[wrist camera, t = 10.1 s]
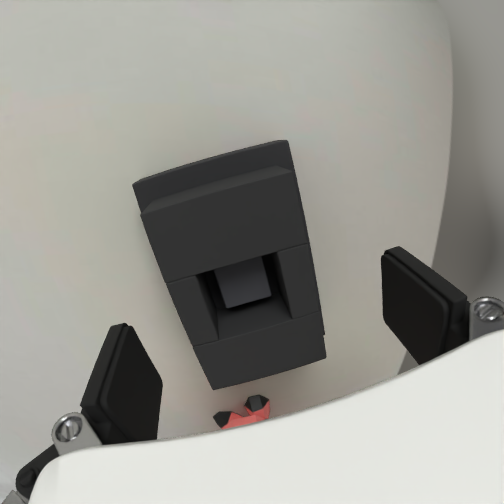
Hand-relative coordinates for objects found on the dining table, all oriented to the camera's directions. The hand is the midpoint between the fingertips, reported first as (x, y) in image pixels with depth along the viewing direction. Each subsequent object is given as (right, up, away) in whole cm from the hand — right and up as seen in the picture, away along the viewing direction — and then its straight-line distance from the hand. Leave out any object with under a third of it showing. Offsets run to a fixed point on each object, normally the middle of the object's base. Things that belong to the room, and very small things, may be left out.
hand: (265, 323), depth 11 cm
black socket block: (-1, +1, +6) cm, 6 cm away
